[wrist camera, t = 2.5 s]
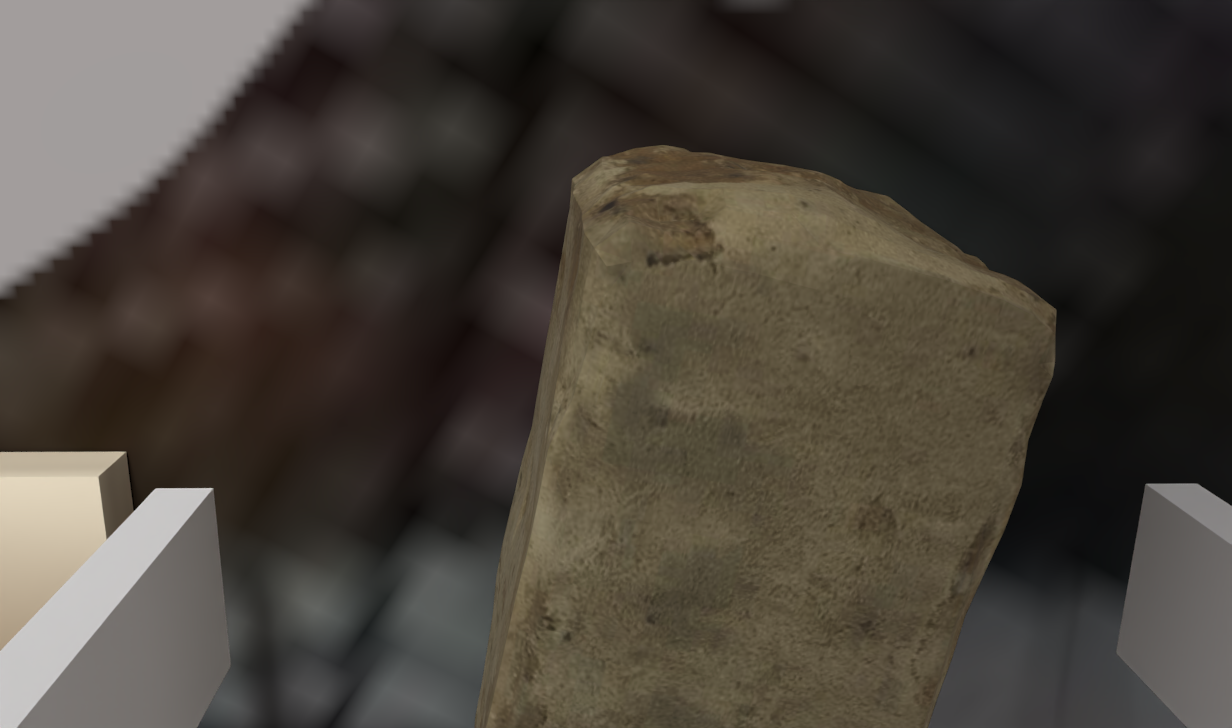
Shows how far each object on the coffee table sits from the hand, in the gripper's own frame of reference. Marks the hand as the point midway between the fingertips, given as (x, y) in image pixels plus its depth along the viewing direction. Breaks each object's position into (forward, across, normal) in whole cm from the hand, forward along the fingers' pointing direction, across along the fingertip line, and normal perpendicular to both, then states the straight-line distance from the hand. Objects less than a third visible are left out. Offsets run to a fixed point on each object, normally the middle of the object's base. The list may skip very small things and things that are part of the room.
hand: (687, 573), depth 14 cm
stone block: (+3, 0, 0) cm, 3 cm away
